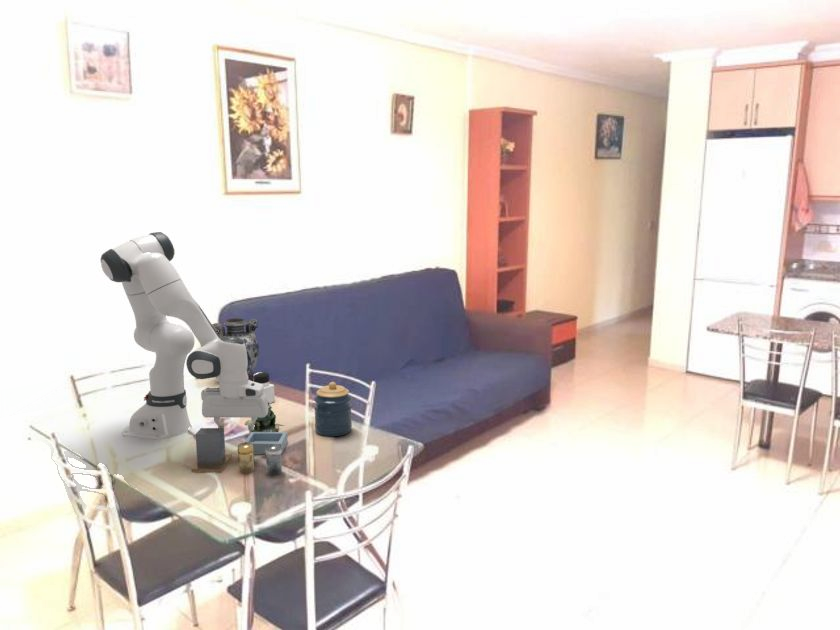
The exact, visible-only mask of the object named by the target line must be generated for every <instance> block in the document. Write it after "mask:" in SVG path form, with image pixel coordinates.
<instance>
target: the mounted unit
mask: <svg viewBox="0 0 840 630" xmlns="http://www.w3.org/2000/svg"><path fill="white" fill-rule="evenodd" d="M195 445H196V446H195V447H196V462H195V464H194V465H193V466H192V468H191V469H190V471H191V473H223V471H224V470H225V468H226V467H227V465H228V464H229V463H230V461H231V460H232V458H233V453H232V454H231V453H230V454H229V453H226V442H225V427H224V428H218V427H217V428H216V427H200V429H198V431H197V432H196V433H195Z"/></svg>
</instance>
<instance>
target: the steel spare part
mask: <svg viewBox="0 0 840 630" xmlns="http://www.w3.org/2000/svg"><path fill="white" fill-rule="evenodd" d="M265 460H266V464H265V465H266V475H269V476H276V475H280V474H281V473H283V472H282V471H283V470H282V469H283V468H282V467H283V466H282V454H281V445H280V444H269V445H267V446H266V454H265Z"/></svg>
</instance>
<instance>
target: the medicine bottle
mask: <svg viewBox="0 0 840 630" xmlns="http://www.w3.org/2000/svg"><path fill="white" fill-rule="evenodd" d="M252 378H253V382H257V383H260V384H263V385H264V390H263V393H265V395H266V397H267V401H268V402H269V405H270V404H272V403H274V402H275V401H276V399H275V398H276V397H275V384H272V383H270V374H269V373H267V372H264V371H263V372H261V371H259V372H256V373H254V374H253V377H252Z"/></svg>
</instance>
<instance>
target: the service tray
mask: <svg viewBox="0 0 840 630" xmlns="http://www.w3.org/2000/svg"><path fill="white" fill-rule="evenodd" d="M288 441H289V440H288V432H287V431H278V432H251V433H250V432H249V434H248V436H247V438H246V439H245V440H244V442H243V443H245V442H249V443H252V444H253V447H254V452H253V453H254V455H266V446H267V445H269V444H280V445H281V455H283V452H284V450H285V448H286V445H287V444H288Z"/></svg>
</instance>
